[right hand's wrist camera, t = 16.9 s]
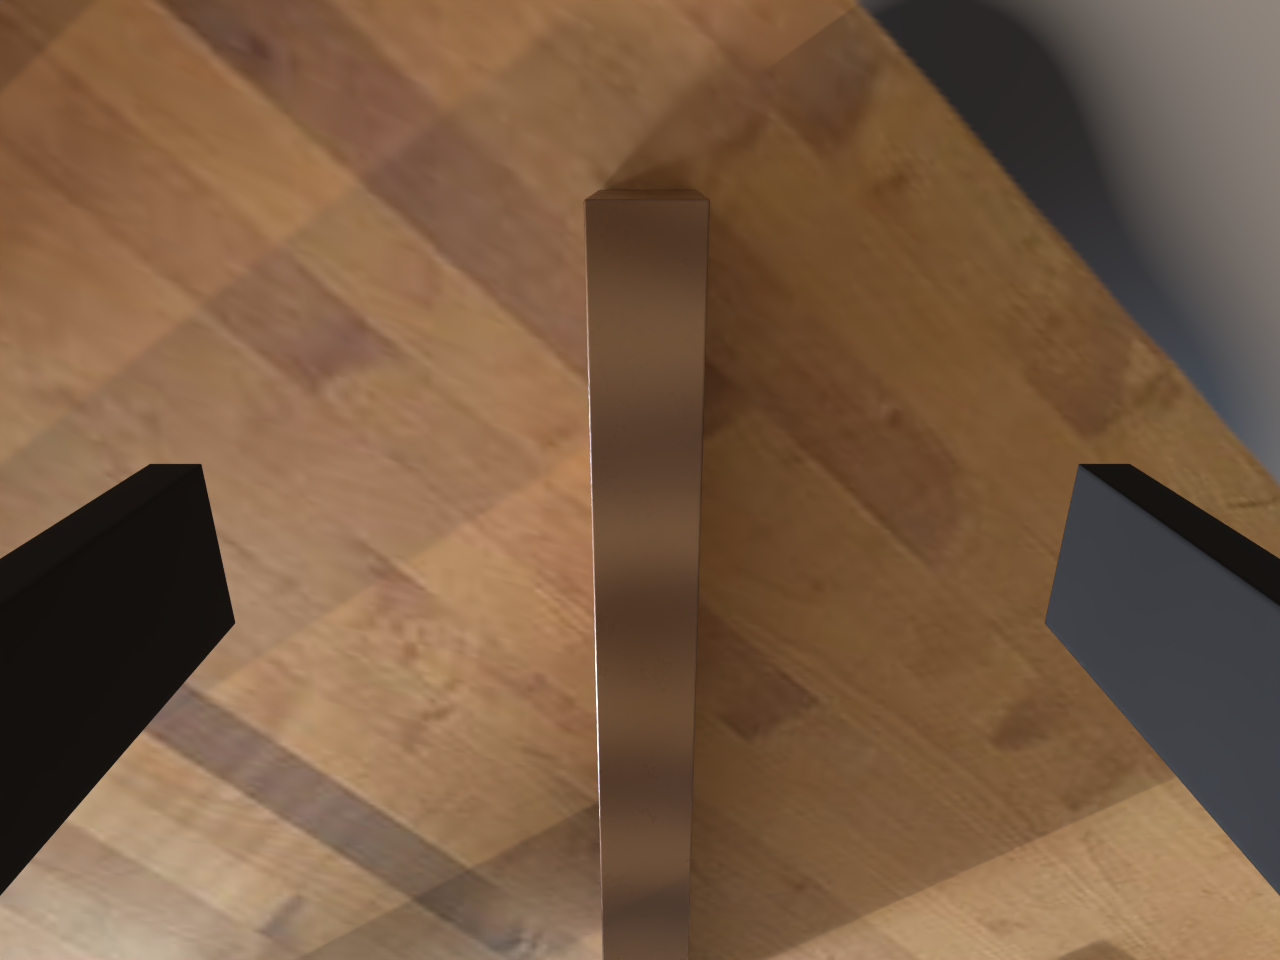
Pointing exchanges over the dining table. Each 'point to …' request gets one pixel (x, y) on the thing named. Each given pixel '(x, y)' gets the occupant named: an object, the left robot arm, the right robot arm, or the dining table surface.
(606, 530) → the beam
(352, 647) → the dining table surface
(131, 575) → the right robot arm
